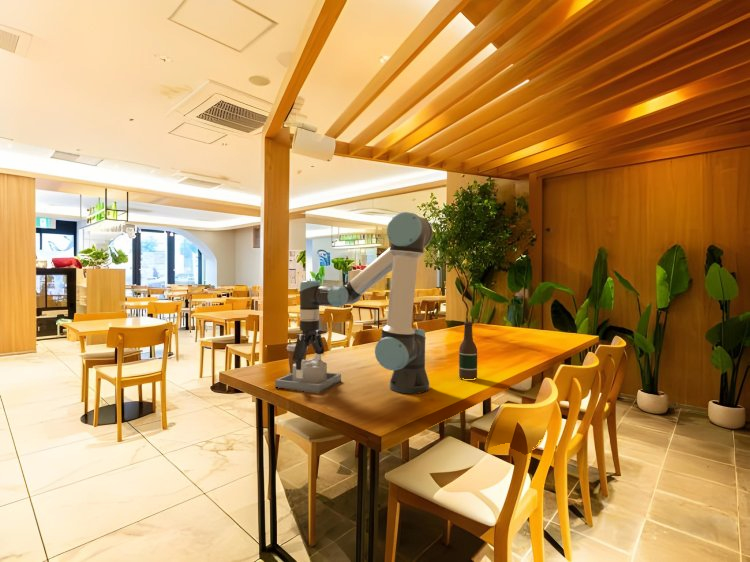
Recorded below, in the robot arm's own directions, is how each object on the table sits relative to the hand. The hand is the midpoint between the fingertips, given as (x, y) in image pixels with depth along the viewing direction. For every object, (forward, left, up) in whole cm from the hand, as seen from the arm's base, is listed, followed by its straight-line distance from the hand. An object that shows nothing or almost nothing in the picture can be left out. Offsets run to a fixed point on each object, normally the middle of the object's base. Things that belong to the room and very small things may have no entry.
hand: (309, 373), depth 151 cm
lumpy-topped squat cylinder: (0, 0, -4) cm, 4 cm away
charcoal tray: (0, 0, -4) cm, 4 cm away
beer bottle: (-57, -34, -4) cm, 66 cm away
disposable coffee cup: (+16, -16, -4) cm, 23 cm away
